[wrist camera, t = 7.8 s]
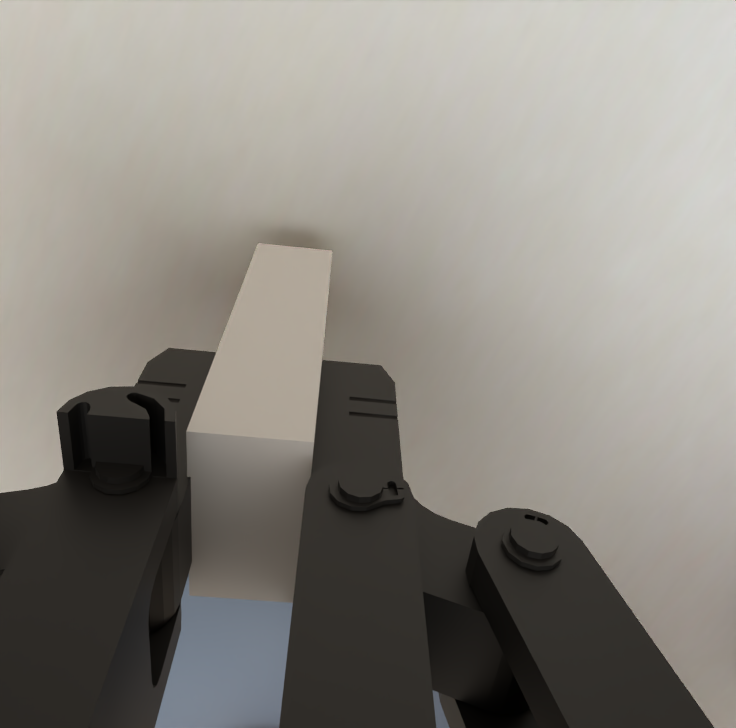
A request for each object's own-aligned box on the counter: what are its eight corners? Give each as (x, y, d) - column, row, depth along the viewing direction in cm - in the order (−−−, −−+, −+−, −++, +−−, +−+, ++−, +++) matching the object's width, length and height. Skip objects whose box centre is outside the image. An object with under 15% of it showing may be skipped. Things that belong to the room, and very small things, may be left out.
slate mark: (499, 562, 21) (500, 567, 20) (431, 806, 27) (431, 811, 27) (51, 528, 20) (48, 533, 20) (89, 789, 26) (87, 794, 26)
